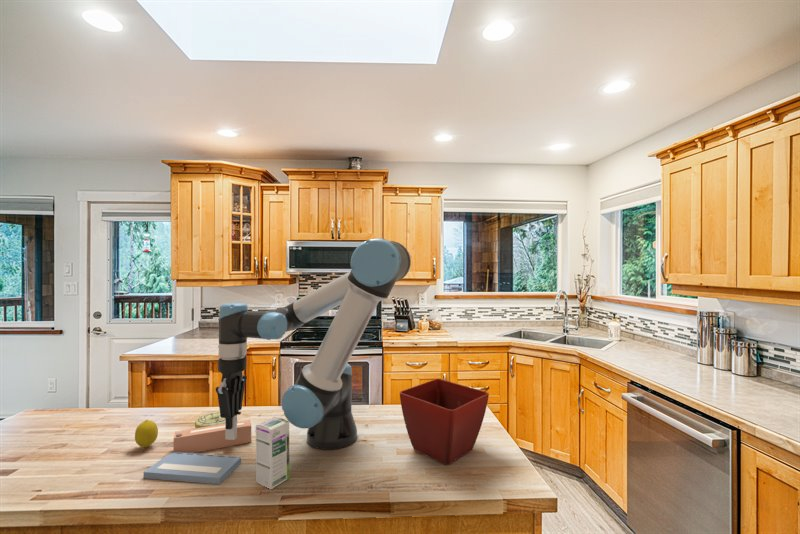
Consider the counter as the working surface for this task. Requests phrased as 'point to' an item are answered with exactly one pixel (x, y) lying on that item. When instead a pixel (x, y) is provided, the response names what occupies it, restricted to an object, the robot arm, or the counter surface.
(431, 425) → the plant pot
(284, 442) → the syrup box
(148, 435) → the lemon
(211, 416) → the decorated donut
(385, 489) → the counter surface
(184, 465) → the board
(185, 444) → the pink rectangular bar
